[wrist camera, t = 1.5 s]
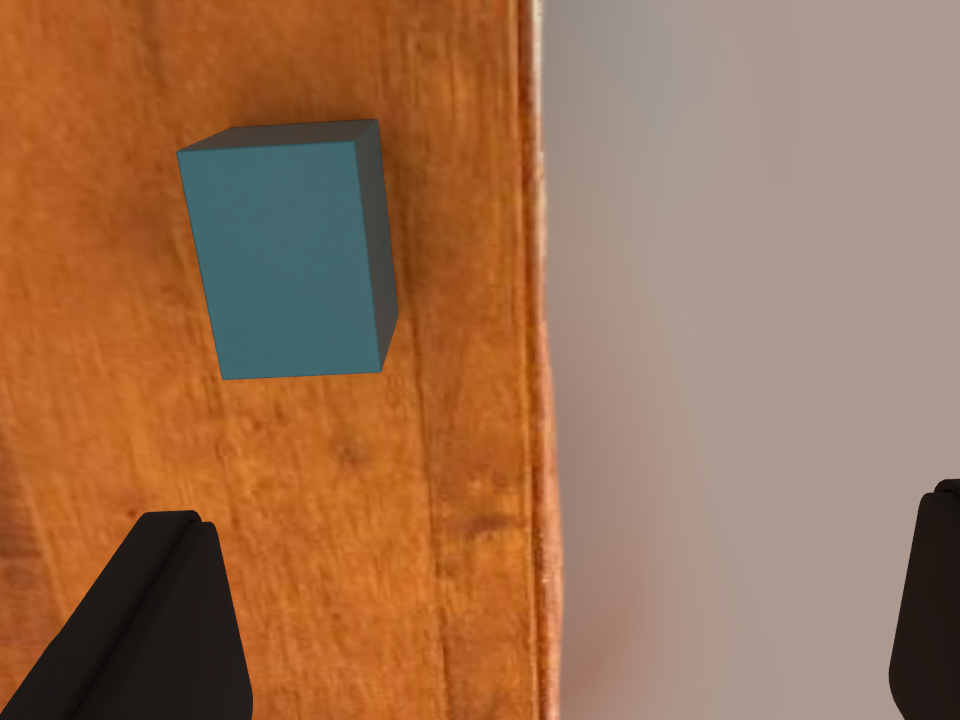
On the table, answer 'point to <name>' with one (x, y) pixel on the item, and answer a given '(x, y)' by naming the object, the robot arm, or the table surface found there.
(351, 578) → the table surface
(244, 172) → the box
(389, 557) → the table surface
